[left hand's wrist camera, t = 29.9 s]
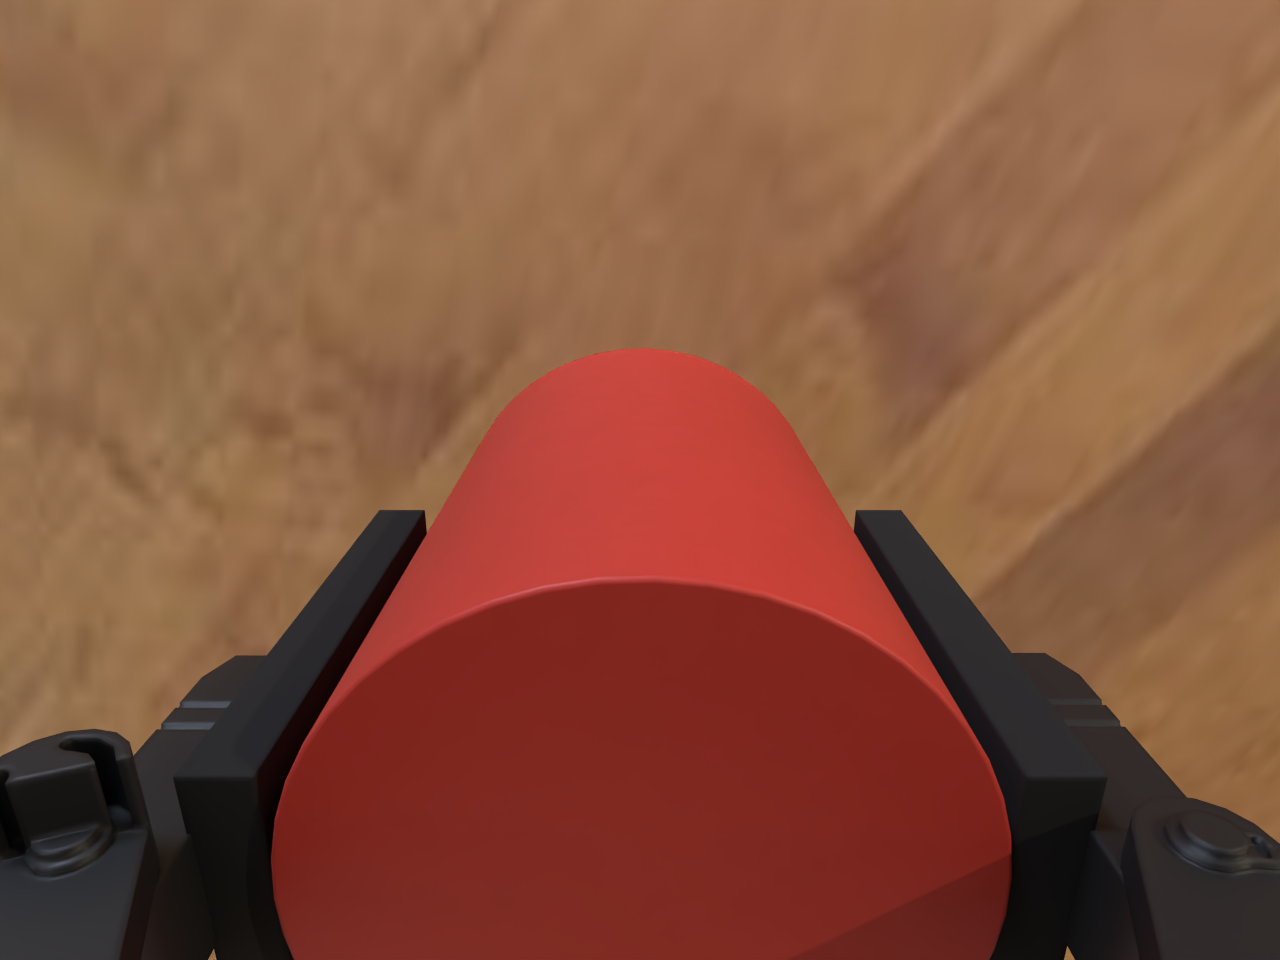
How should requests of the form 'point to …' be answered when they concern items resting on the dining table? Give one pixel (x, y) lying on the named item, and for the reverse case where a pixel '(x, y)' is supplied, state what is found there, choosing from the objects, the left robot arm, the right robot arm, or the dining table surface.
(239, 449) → the dining table surface
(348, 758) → the can
